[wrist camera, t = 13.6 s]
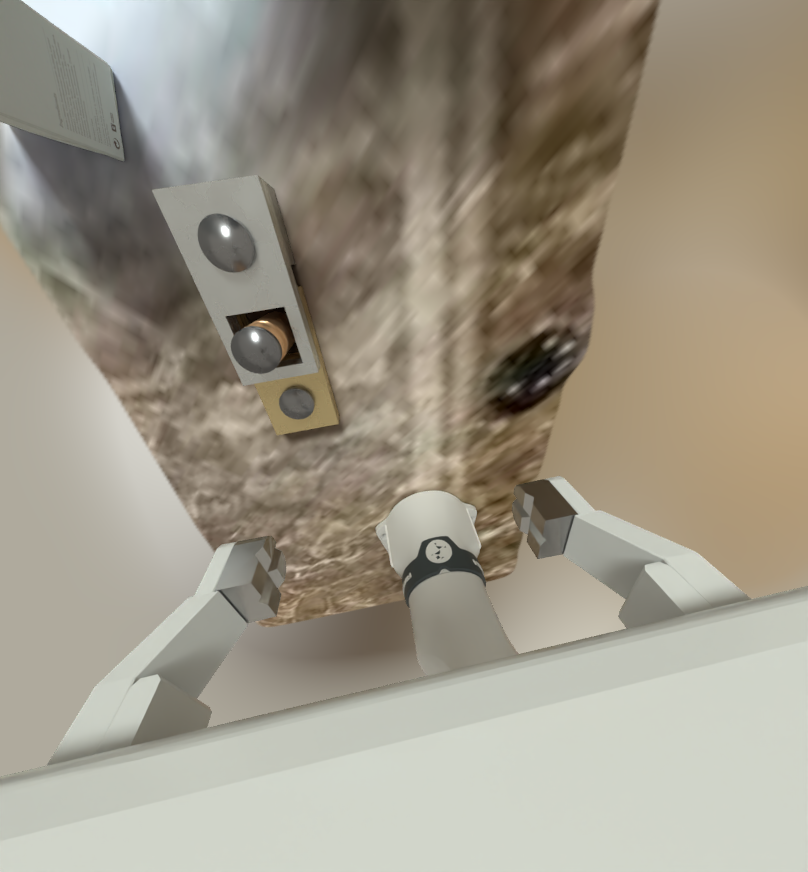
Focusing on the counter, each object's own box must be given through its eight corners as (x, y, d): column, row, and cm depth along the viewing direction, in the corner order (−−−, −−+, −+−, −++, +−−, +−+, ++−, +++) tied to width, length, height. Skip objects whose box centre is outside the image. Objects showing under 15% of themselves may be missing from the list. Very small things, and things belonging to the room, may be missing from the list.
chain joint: (339, 415, 39) (337, 438, 34) (281, 426, 39) (270, 450, 34) (273, 189, 26) (254, 172, 21) (185, 201, 26) (144, 187, 21)
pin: (302, 344, 34) (286, 369, 26) (268, 350, 33) (242, 377, 26) (290, 308, 32) (270, 324, 24) (254, 314, 31) (222, 332, 24)
